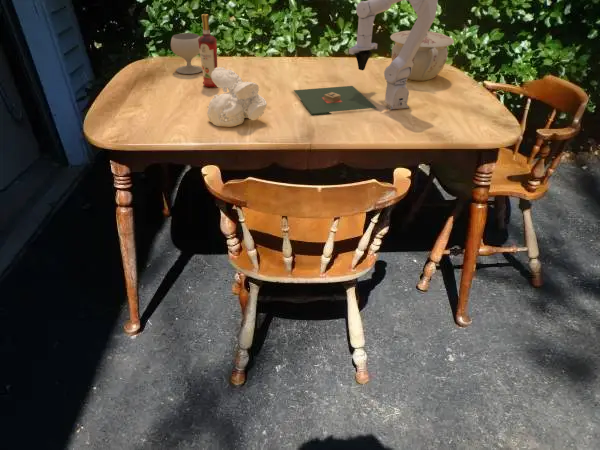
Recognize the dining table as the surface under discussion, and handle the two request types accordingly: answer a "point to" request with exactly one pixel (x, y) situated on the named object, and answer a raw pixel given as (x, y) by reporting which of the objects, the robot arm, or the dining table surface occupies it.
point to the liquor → (207, 52)
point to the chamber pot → (424, 54)
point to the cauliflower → (234, 100)
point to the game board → (318, 106)
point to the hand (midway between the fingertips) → (361, 69)
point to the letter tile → (332, 97)
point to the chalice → (186, 51)
